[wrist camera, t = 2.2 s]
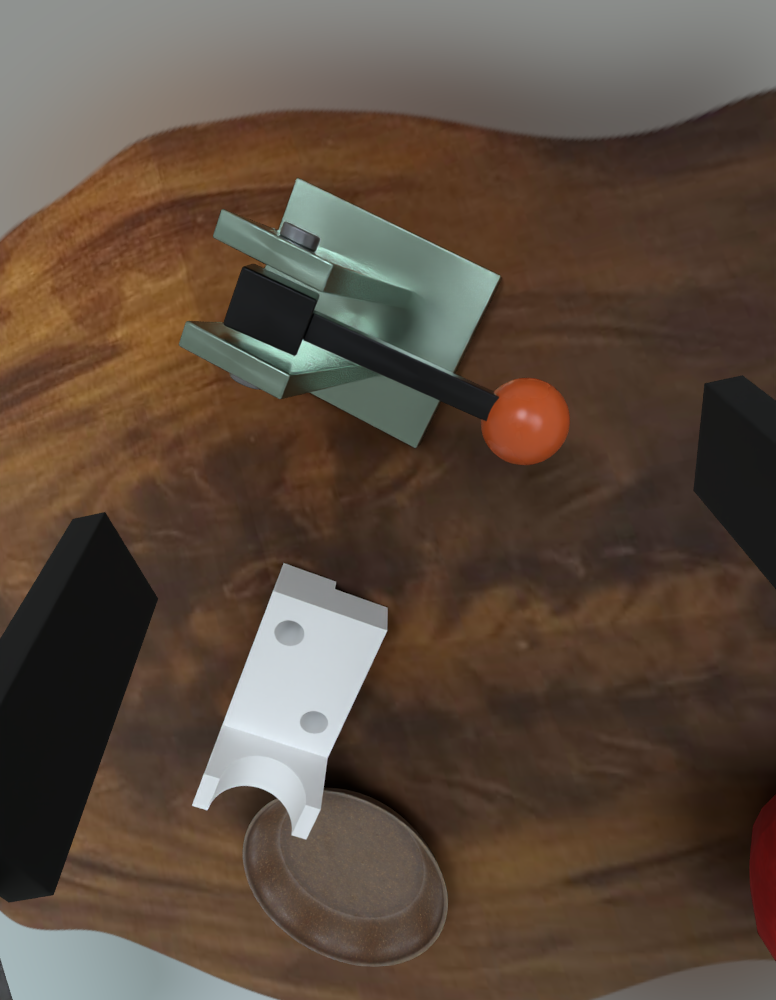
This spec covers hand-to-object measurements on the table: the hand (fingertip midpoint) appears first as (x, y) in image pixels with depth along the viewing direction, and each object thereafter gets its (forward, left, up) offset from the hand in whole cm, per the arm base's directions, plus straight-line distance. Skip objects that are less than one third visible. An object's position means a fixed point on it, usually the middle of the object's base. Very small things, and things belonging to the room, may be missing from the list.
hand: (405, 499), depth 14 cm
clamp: (+4, -7, -21) cm, 23 cm away
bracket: (+18, +11, -21) cm, 30 cm away
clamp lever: (+1, -4, -13) cm, 13 cm away
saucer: (+23, +25, -21) cm, 40 cm away
